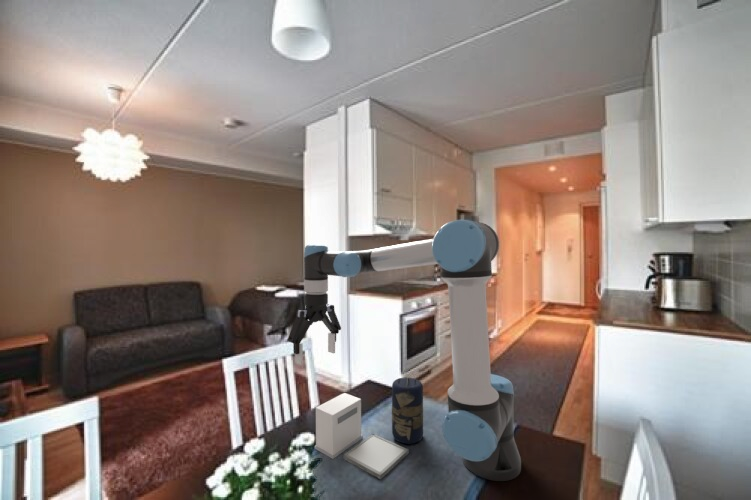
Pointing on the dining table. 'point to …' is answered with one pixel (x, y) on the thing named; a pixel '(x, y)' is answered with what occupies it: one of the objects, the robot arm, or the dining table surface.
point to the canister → (407, 410)
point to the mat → (376, 455)
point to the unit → (338, 424)
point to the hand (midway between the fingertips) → (316, 357)
